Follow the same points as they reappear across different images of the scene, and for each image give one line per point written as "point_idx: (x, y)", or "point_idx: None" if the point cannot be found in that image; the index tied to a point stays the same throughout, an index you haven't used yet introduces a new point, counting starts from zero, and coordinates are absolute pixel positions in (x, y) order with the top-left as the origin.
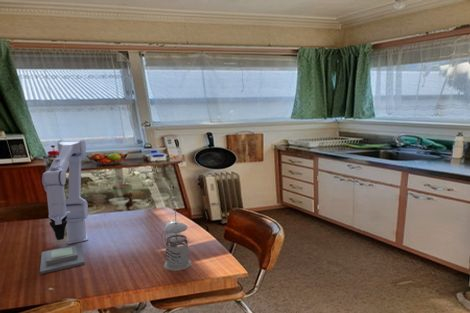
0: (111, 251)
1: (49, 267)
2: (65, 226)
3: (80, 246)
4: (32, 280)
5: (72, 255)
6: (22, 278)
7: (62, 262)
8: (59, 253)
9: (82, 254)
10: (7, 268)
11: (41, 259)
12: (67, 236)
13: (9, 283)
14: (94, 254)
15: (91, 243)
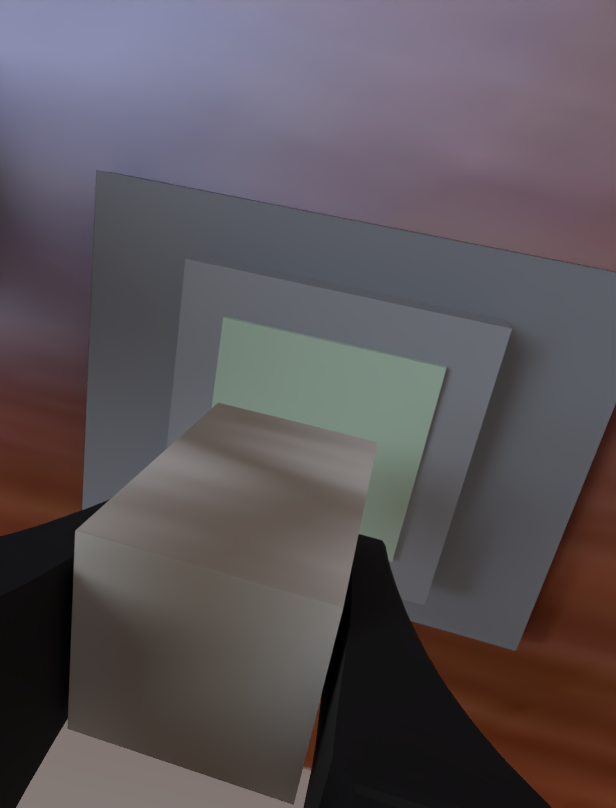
0: None
1: (495, 577)
2: (267, 607)
3: (164, 196)
4: (580, 694)
5: (485, 379)
6: (475, 723)
7: (474, 465)
8: None
9: (427, 243)
10: None
11: None
12: (367, 488)
13: None
14: (462, 99)
15: (88, 37)
